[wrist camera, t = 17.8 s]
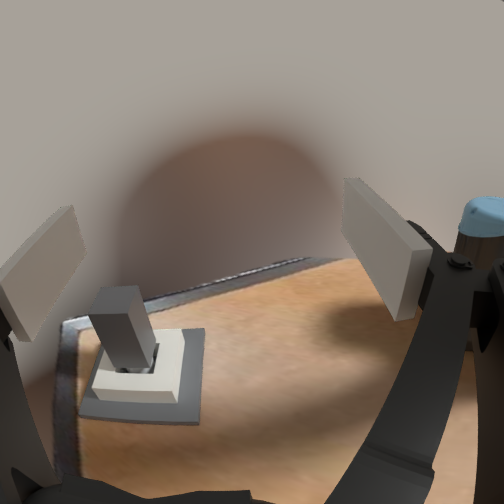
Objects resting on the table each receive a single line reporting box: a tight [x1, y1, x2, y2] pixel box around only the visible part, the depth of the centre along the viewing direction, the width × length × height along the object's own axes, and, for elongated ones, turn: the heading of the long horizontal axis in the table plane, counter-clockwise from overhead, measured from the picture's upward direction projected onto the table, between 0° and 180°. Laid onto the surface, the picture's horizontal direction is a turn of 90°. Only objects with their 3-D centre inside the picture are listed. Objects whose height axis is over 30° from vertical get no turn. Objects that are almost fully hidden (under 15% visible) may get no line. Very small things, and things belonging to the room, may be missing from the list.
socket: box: [78, 328, 205, 425], centre depth 44 cm, size 18×18×4 cm
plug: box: [88, 285, 156, 374], centre depth 41 cm, size 6×6×14 cm
